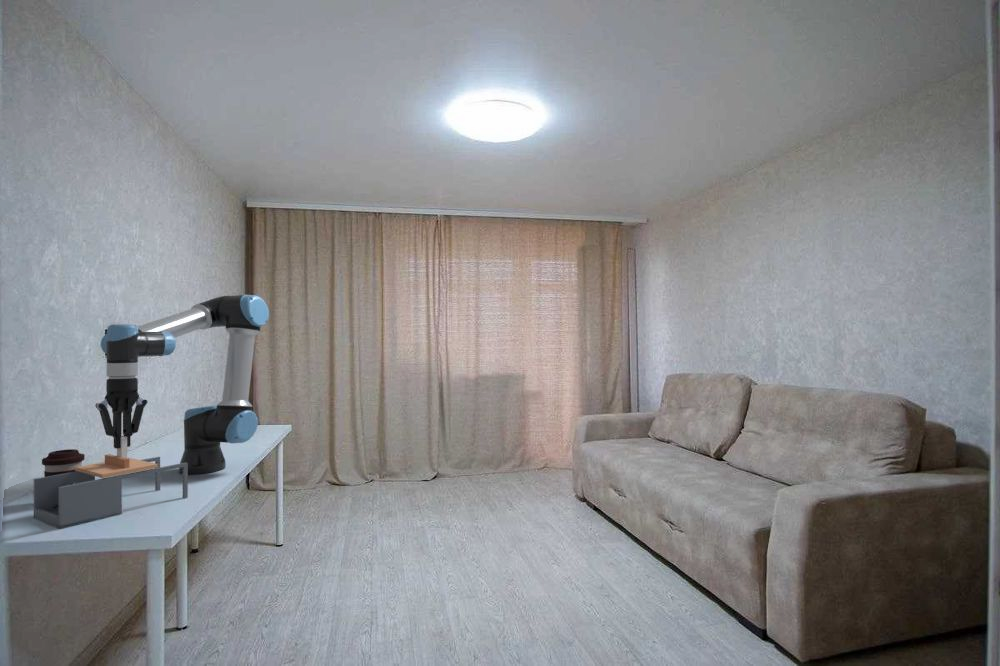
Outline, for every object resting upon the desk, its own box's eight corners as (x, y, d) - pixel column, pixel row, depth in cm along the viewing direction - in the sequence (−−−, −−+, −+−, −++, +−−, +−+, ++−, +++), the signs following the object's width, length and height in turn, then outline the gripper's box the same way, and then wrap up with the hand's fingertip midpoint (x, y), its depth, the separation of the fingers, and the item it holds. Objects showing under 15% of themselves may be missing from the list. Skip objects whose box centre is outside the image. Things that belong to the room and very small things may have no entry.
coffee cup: (42, 501, 164) (42, 450, 164) (84, 495, 170) (84, 446, 170) (40, 509, 156) (40, 456, 156) (84, 502, 162) (84, 451, 162)
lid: (129, 460, 169) (129, 449, 169) (157, 467, 160) (157, 455, 160) (75, 470, 157) (75, 458, 157) (102, 478, 148) (102, 465, 148)
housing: (158, 489, 176) (158, 456, 176) (187, 497, 167) (187, 462, 167) (33, 517, 149) (33, 479, 149) (60, 529, 140) (60, 487, 140)
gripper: (140, 375, 167) (139, 453, 167) (90, 378, 156) (90, 461, 156) (152, 376, 163) (152, 456, 163) (102, 379, 152) (102, 465, 152)
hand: (122, 459), depth 159 cm, fingers closed
